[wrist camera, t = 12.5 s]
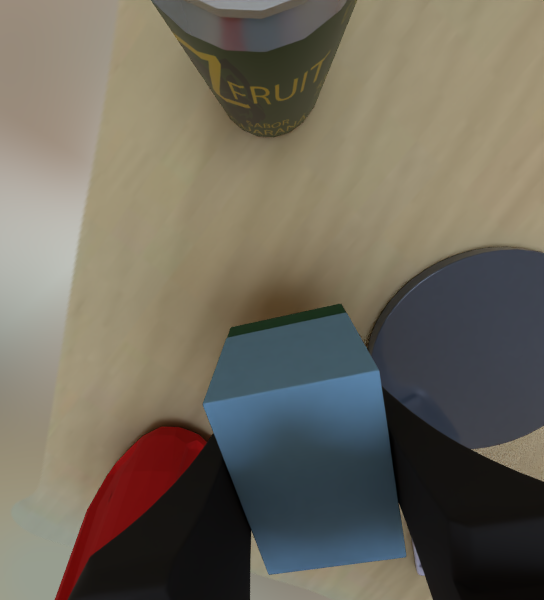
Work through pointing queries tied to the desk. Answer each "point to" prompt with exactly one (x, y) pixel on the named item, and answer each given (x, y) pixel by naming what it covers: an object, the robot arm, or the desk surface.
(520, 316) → the plate
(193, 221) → the desk surface
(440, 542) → the robot arm
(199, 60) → the beer can
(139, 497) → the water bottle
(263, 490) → the sponge
